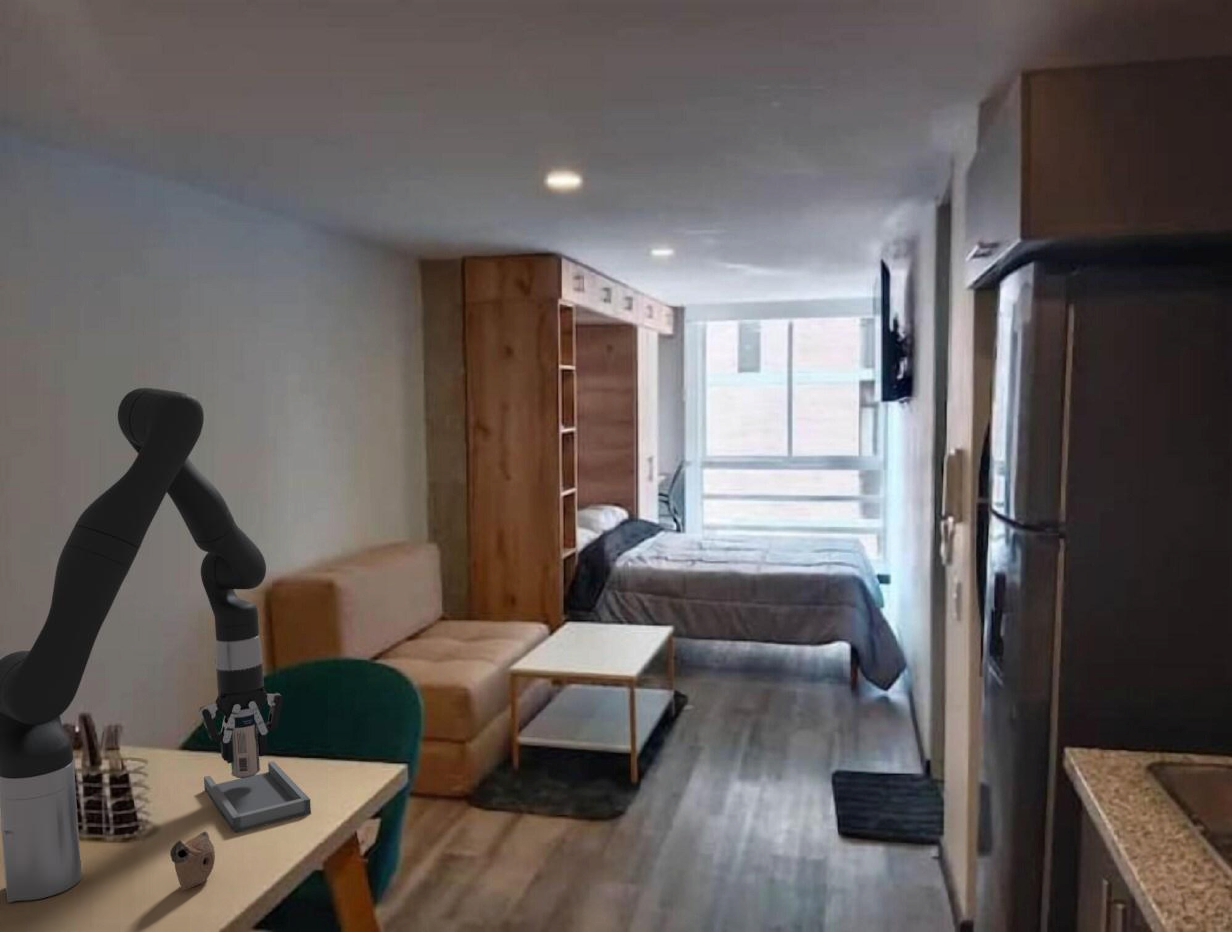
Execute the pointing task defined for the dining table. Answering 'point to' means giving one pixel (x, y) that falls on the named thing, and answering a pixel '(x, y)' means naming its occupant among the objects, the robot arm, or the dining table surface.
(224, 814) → the tray
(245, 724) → the beer can
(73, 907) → the dining table surface
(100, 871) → the dining table surface
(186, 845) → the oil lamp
